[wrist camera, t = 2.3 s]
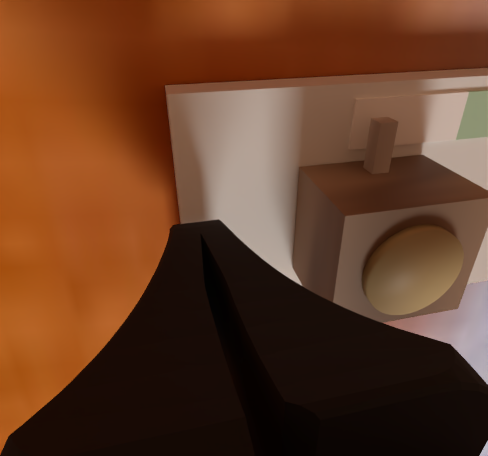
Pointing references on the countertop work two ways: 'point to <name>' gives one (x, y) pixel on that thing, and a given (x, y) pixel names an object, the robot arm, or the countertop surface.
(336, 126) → the gauge track
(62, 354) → the countertop surface
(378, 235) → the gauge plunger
